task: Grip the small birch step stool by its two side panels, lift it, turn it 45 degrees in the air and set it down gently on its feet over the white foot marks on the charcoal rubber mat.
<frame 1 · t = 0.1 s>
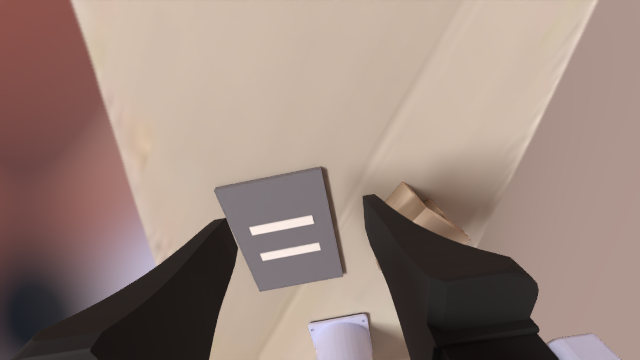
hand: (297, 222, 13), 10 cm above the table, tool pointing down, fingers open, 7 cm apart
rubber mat: (286, 234, 25), on the table
birch stool: (398, 213, 25), on the table
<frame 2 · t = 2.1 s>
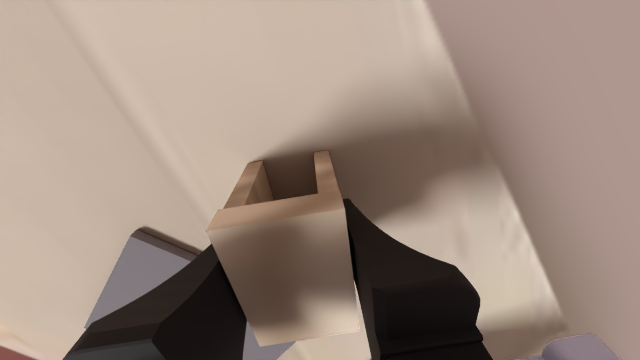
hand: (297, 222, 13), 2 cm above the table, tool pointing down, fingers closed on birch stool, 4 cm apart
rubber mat: (209, 314, 18), on the table
birch stool: (298, 203, 14), on the table, touching gripper
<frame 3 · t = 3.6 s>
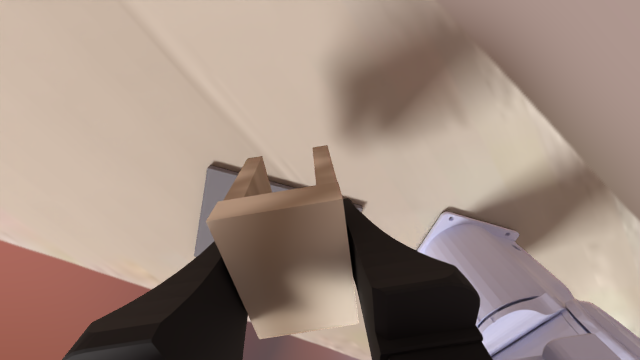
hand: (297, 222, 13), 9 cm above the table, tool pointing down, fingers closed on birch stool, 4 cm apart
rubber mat: (276, 229, 24), on the table
birch stool: (297, 198, 14), point 7 cm above the table, touching gripper
when the fingers open (3 cm above the table, at t = 5.4 s): birch stool stays where it is, resting on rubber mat.
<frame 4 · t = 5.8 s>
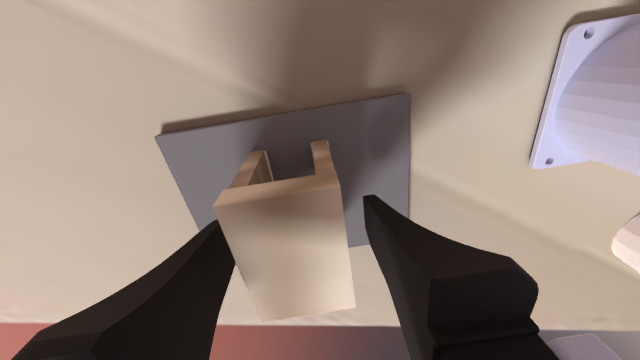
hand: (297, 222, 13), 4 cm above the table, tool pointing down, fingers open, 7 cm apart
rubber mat: (299, 190, 16), on the table
birch stool: (298, 191, 15), point 1 cm above the table, touching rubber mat
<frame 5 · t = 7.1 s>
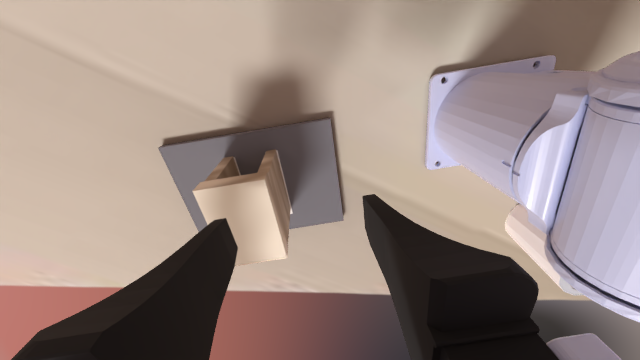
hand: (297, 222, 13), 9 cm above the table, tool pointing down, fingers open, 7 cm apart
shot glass: (529, 216, 26), on the table
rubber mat: (261, 184, 22), on the table
birch stool: (259, 185, 21), point 1 cm above the table, touching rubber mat
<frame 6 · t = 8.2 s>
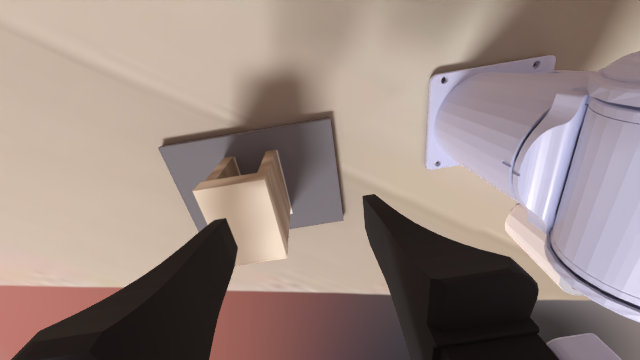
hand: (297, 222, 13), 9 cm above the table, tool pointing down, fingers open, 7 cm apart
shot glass: (529, 216, 26), on the table
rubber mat: (261, 184, 22), on the table
birch stool: (259, 185, 21), point 1 cm above the table, touching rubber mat
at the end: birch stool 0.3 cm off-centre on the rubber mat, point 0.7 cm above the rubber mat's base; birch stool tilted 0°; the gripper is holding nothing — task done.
